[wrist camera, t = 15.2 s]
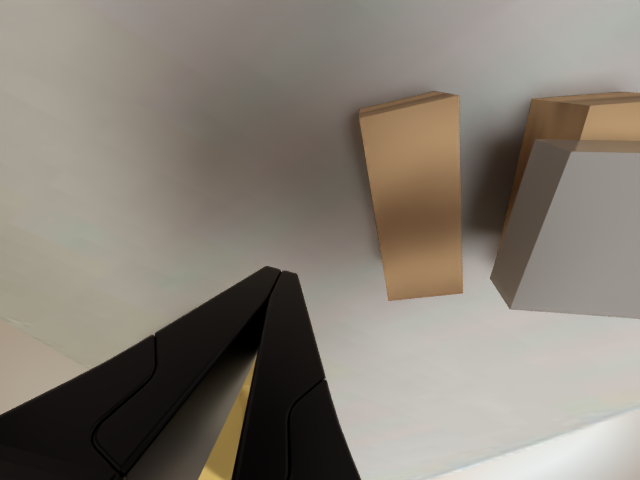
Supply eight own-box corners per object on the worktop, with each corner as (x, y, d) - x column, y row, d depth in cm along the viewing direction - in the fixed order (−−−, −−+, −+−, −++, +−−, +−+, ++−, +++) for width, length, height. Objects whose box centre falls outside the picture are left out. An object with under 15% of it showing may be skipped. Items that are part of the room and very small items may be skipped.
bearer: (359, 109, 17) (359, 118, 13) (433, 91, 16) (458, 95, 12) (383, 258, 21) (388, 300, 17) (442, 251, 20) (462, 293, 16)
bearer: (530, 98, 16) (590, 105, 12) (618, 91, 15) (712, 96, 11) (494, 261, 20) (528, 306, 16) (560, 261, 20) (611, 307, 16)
